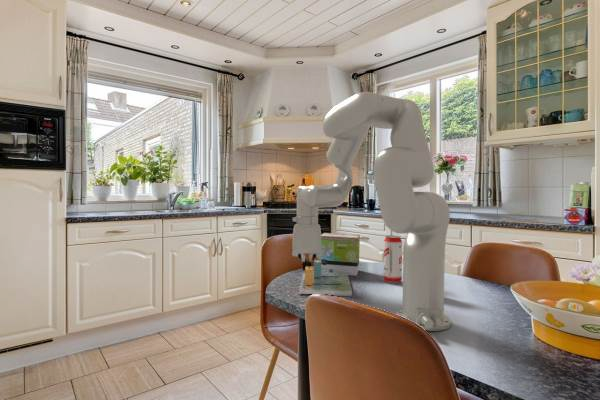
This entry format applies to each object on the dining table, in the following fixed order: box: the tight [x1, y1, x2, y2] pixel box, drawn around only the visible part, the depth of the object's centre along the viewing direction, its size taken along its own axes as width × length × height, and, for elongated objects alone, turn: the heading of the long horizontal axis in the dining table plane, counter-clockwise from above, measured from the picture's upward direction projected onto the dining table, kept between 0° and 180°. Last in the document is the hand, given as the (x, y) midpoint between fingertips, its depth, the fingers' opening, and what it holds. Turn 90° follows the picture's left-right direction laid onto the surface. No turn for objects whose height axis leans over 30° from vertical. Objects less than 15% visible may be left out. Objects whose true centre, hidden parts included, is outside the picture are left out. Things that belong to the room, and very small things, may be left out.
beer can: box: [382, 234, 403, 285], centre depth 121 cm, size 6×6×16 cm
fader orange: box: [304, 265, 314, 285], centre depth 112 cm, size 4×2×5 cm, turn 176°
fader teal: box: [313, 259, 321, 277], centre depth 122 cm, size 4×2×5 cm, turn 176°
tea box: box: [318, 232, 361, 277], centre depth 135 cm, size 15×10×15 cm
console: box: [298, 270, 353, 297], centre depth 117 cm, size 24×16×2 cm, turn 176°
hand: (306, 272), depth 122 cm, fingers closed
